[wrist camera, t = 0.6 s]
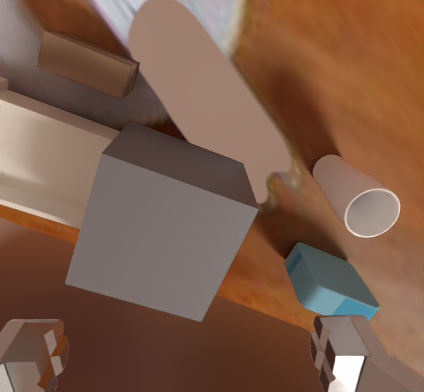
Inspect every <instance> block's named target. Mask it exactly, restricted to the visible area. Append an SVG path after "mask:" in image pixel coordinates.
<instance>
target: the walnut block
mask: <svg viewBox="0 0 424 392" xmlns="http://www.w3.org/2000/svg"><path fill="white" fill-rule="evenodd" d="M139 65H140V63H139V62H137V61H135V60H132V59H130V58H127V57H125V56H122V55H120V54H118V53H115V52H113V51H110V50H108V49H105V48H103V47H101V46H98V45H96V44H93V43H91V42H89V41H86V40H84V39H81V38H79V37H77V36H74V35H72V34H69V33H67V32H56V31H44V32H43V37H42V43H41V48H40V54H39V59H38V65H37V66H38V67H41V68H43V69H46V70H48V71H51V72H54V73H56V74H59V75H61V76H64V77H66V78H69V79H71V80H74V81H77V82H79V83H82V84H84V85H87V86H89V87H92V88H94V89H97V90H100V91H102V92H105V93H107V94H110V95H112V96H115V97H117V98H120V99H122V98H123V97H124V96H126V95H127V94H129V93H130V92H131V91H132V89H133V85H134V82H135V78H136V75H137V72H138V69H139Z"/></svg>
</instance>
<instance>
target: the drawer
mask: <svg viewBox="0 0 424 392" xmlns="http://www.w3.org/2000/svg"><path fill="white" fill-rule="evenodd" d="M8 82H9V80H8V79H5V78H3V77H0V204H2V205H5V206H8V207H11V208H15V209H18V210H21V211H24V212H27V213H31V214H34V215H37V216H40V217H43V218H47V219H50V220H53V221H56V222H59V223H63V224H66V225H69V226H72V227H76V228H79V229H80V228H81V225H82V221H83V218H84V214H85V210H86V207H87V203H88V200H89V196H90V193H91V189H92V185H93V182H94V178H95V175H96V171H97V168H98V164H99V160H100V157H101V153H102V152H103V151H104V150H105V149H106V148H107V146H108V145H109V144H110V143H111V142H112V141H113V140H114V138H115V137H116V136H117V135H118V134H119V133H120V131H118V130H115V129H112V128H110V127H107V126H104V125H102V124H99V123H96V122H94V121H91V120H88V119H85V118H83V117H80V116H77V115H75V114H72V113H69V112H67V111H64V110H61V109H59V108H56V107H53V106H51V105H48V104H45V103H43V102H40V101H37V100H34V99H32V98H29V97H26V96H24V95H21V94H18V93H16V92H13V91H10V90H8Z"/></svg>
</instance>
